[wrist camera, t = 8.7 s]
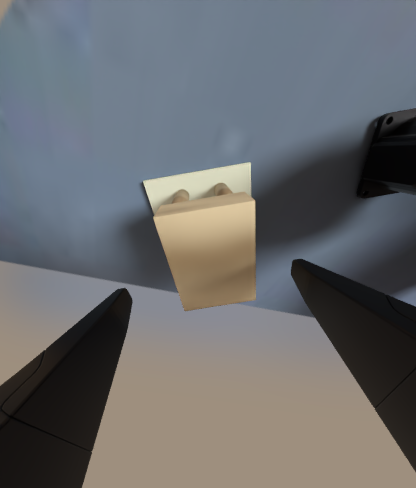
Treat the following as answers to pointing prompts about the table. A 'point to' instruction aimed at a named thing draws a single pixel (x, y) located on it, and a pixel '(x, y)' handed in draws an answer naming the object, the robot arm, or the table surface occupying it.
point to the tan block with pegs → (210, 247)
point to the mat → (198, 184)
